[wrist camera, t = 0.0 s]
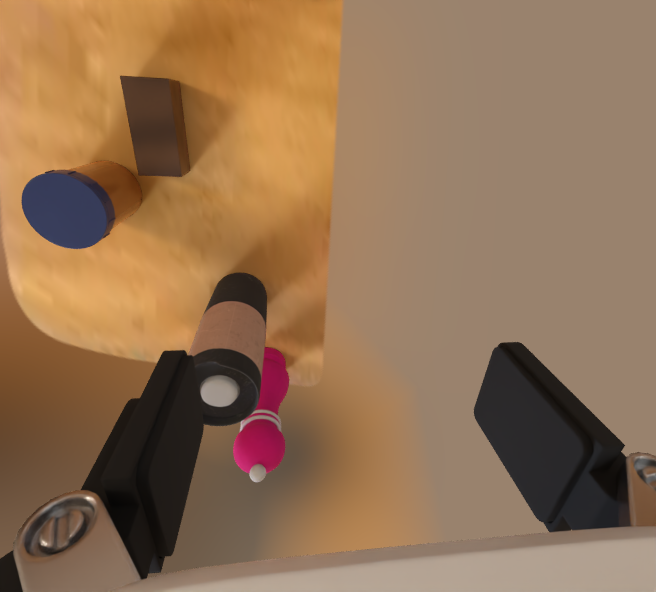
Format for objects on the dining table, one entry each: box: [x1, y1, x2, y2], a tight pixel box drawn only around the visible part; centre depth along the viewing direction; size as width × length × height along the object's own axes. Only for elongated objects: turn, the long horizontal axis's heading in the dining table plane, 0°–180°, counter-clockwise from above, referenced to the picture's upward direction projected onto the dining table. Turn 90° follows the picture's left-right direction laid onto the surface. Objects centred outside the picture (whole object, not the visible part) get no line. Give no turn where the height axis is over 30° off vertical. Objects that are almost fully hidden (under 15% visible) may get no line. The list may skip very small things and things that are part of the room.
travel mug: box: [188, 273, 267, 426], centre depth 41 cm, size 8×8×20 cm
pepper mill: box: [233, 347, 289, 482], centre depth 47 cm, size 7×7×20 cm
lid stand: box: [120, 76, 190, 177], centre depth 37 cm, size 9×4×4 cm, turn 177°
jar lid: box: [22, 170, 116, 249], centre depth 34 cm, size 7×7×2 cm
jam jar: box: [69, 161, 142, 228], centre depth 37 cm, size 7×7×10 cm
